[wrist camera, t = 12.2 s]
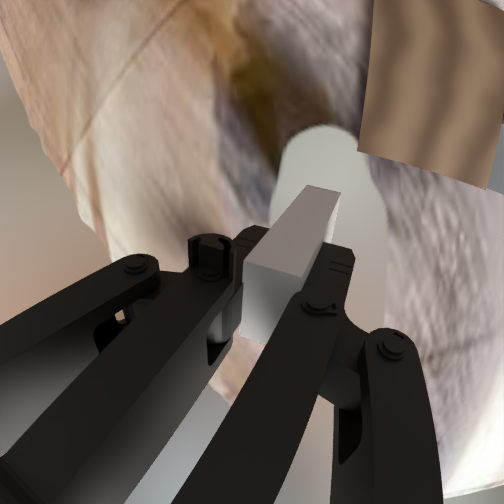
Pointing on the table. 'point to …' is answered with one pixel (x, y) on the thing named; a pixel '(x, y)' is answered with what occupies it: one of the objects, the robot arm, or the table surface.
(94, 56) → the table surface
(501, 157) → the place mat
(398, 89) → the serving board
